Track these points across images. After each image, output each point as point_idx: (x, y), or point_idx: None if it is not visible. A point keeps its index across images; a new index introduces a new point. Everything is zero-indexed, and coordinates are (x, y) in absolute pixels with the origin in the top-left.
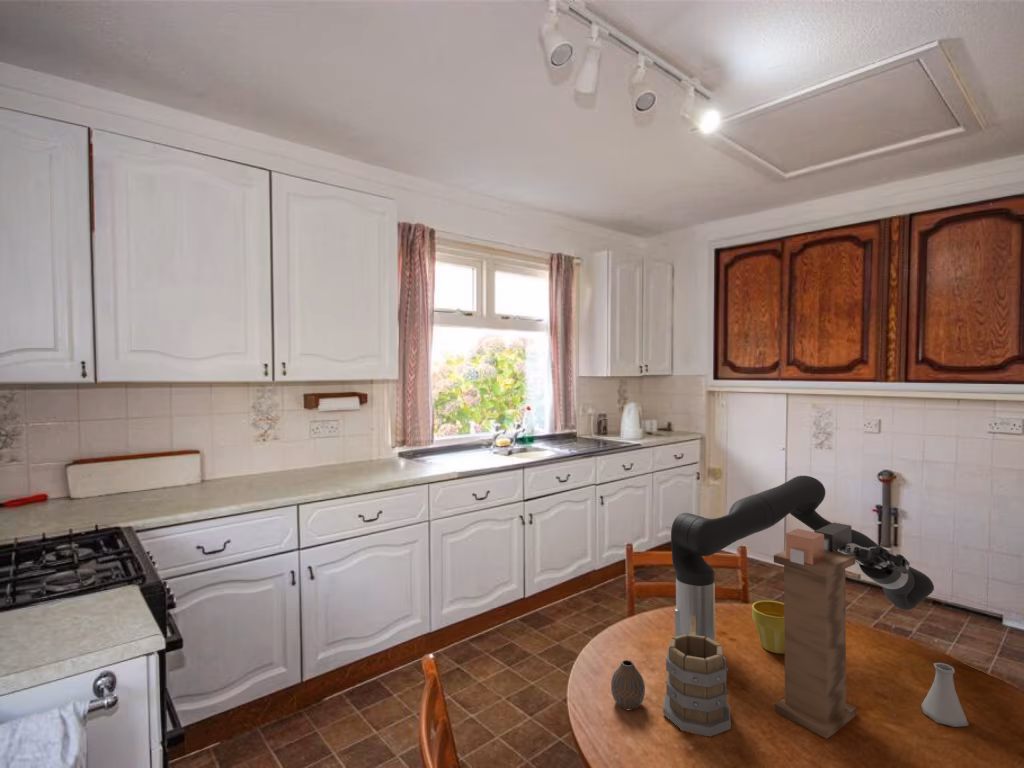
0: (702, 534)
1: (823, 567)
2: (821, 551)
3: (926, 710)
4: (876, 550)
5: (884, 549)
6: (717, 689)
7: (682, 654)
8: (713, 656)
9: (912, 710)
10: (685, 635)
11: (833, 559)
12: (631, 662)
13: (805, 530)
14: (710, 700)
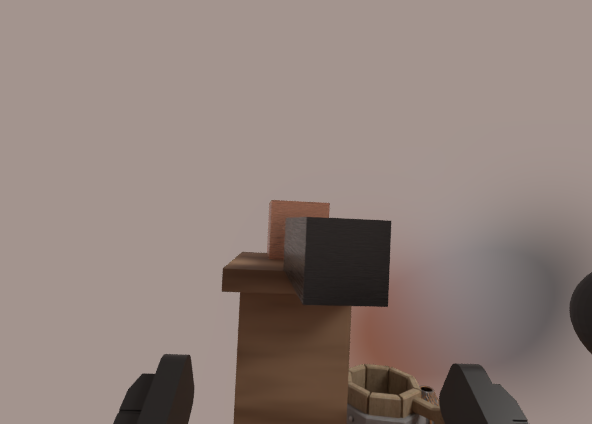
0: (576, 289)
1: (249, 253)
2: (269, 236)
3: None
4: (190, 375)
5: (140, 378)
6: None
7: (369, 365)
8: (348, 377)
9: None
10: (415, 386)
11: (254, 260)
12: (426, 391)
13: (310, 202)
14: None
